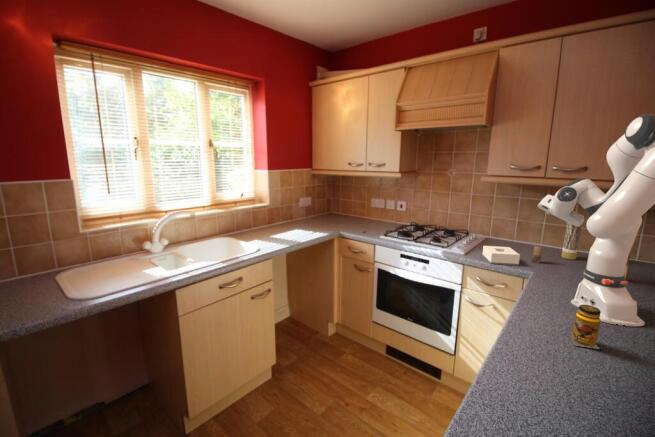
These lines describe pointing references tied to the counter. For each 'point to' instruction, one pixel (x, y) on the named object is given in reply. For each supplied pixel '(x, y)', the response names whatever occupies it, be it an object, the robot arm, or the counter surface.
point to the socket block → (501, 255)
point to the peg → (537, 254)
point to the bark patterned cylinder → (571, 241)
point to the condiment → (586, 325)
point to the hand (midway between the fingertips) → (557, 217)
